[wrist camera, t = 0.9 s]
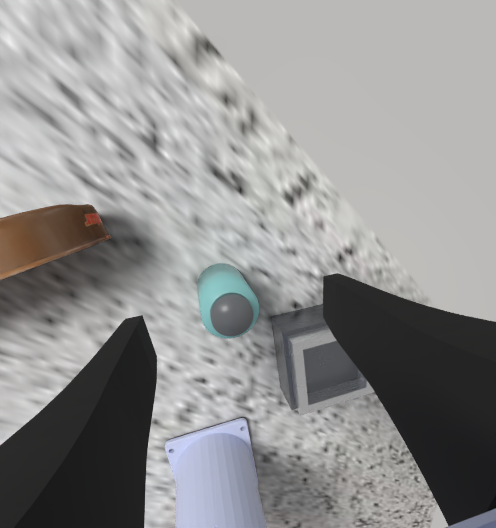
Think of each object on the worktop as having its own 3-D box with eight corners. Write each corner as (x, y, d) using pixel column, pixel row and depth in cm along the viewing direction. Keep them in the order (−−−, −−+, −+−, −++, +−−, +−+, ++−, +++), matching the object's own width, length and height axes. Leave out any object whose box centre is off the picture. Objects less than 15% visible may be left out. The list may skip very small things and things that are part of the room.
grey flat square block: (352, 366, 29) (378, 394, 25) (280, 387, 28) (296, 420, 24) (349, 297, 27) (378, 316, 23) (271, 316, 26) (287, 340, 22)
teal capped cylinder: (246, 301, 25) (265, 336, 19) (202, 312, 24) (208, 351, 18) (240, 259, 23) (258, 282, 18) (192, 268, 23) (196, 296, 17)
